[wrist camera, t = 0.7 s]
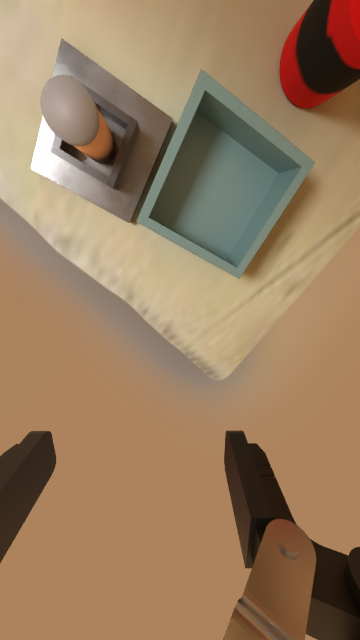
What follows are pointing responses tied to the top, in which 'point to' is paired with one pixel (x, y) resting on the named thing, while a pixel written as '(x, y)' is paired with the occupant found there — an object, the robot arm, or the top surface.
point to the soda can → (322, 52)
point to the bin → (222, 179)
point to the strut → (77, 118)
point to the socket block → (128, 129)
